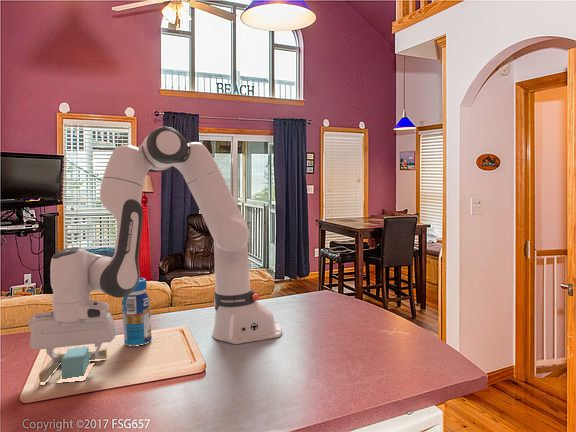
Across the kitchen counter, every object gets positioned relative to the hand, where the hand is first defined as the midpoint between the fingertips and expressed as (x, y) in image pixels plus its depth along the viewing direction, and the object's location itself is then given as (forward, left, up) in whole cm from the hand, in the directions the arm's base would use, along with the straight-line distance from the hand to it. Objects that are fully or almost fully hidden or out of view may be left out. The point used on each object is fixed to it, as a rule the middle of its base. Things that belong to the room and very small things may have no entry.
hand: (75, 360), depth 117 cm
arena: (+1, -1, -3) cm, 4 cm away
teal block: (0, 0, -3) cm, 3 cm away
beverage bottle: (-13, -19, -4) cm, 23 cm away
